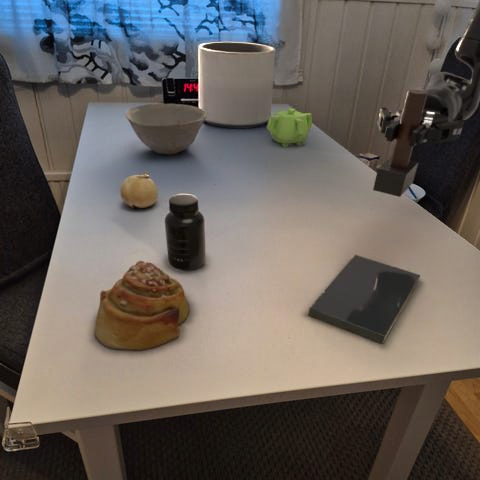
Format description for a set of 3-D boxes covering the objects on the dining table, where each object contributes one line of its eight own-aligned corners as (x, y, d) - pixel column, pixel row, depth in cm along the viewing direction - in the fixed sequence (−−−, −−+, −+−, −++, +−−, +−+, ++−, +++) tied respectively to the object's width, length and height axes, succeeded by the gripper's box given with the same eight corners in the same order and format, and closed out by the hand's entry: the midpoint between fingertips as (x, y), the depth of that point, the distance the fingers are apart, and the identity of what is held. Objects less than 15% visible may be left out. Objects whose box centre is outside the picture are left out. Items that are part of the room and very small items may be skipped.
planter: (231, 134, 143) (233, 55, 129) (184, 117, 157) (181, 44, 144) (285, 122, 157) (292, 49, 143) (237, 107, 171) (239, 40, 158)
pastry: (193, 292, 73) (192, 249, 68) (180, 353, 62) (177, 307, 57) (113, 287, 73) (106, 244, 69) (85, 348, 62) (74, 302, 57)
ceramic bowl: (116, 159, 121) (111, 120, 115) (145, 135, 139) (142, 100, 133) (195, 167, 119) (194, 127, 113) (214, 141, 137) (214, 106, 131)
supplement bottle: (178, 249, 84) (174, 188, 77) (211, 256, 83) (211, 194, 75) (161, 267, 79) (155, 203, 72) (196, 275, 77) (194, 210, 70)
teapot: (311, 140, 141) (315, 107, 135) (301, 150, 133) (305, 115, 127) (276, 135, 145) (278, 102, 138) (264, 144, 136) (266, 110, 130)
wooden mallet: (386, 177, 75) (409, 85, 67) (412, 183, 73) (439, 89, 65) (372, 190, 71) (395, 93, 62) (400, 197, 69) (427, 98, 60)
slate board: (353, 261, 83) (355, 254, 82) (418, 282, 78) (420, 274, 77) (308, 315, 70) (309, 307, 69) (382, 344, 65) (384, 336, 64)
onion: (139, 215, 95) (135, 183, 90) (114, 205, 98) (110, 173, 94) (166, 204, 100) (163, 172, 96) (141, 194, 104) (138, 164, 99)
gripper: (396, 83, 77) (361, 101, 65) (482, 95, 71) (460, 117, 60) (385, 128, 81) (351, 152, 70) (465, 143, 76) (442, 172, 64)
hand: (401, 136), depth 65 cm, fingers closed on wooden mallet, 3 cm apart
